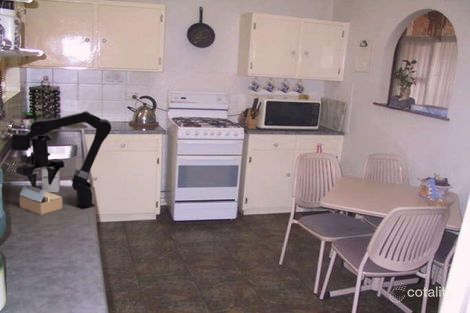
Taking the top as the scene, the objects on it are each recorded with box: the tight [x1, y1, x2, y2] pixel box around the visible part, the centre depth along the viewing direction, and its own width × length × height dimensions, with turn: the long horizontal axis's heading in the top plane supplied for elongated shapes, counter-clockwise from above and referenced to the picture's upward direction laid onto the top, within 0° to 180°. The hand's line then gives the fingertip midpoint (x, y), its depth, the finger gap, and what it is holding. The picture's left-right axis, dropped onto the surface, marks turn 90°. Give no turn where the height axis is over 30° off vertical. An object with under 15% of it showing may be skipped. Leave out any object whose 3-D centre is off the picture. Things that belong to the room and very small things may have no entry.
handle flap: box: [19, 183, 46, 202], centre depth 179 cm, size 14×5×1 cm
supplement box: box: [41, 168, 61, 193], centre depth 207 cm, size 7×7×13 cm
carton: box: [19, 192, 63, 215], centre depth 183 cm, size 14×10×7 cm
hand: (42, 186), depth 184 cm, fingers open, 7 cm apart
